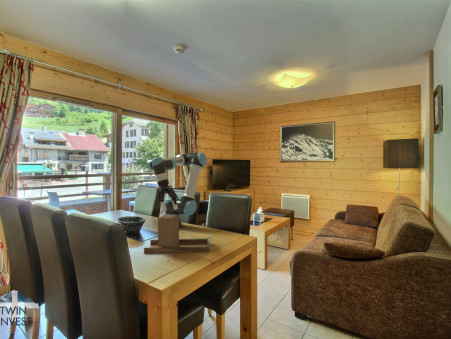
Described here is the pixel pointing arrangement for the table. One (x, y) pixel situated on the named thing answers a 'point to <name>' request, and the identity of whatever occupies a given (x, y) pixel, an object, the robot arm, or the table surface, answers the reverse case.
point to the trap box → (156, 249)
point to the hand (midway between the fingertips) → (170, 210)
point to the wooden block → (168, 231)
